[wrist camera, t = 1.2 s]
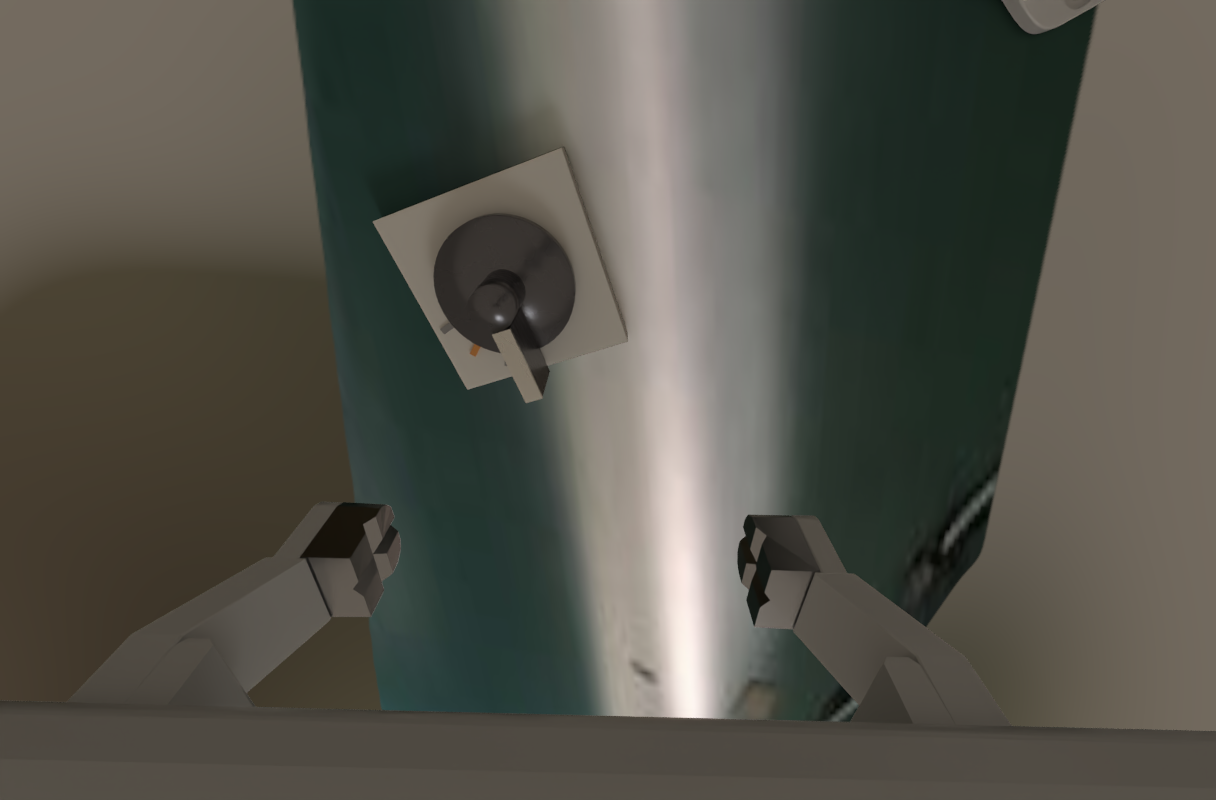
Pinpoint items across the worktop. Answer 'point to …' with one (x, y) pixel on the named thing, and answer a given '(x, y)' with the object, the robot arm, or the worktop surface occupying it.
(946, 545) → the worktop surface
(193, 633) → the robot arm
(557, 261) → the dial
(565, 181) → the dial base
